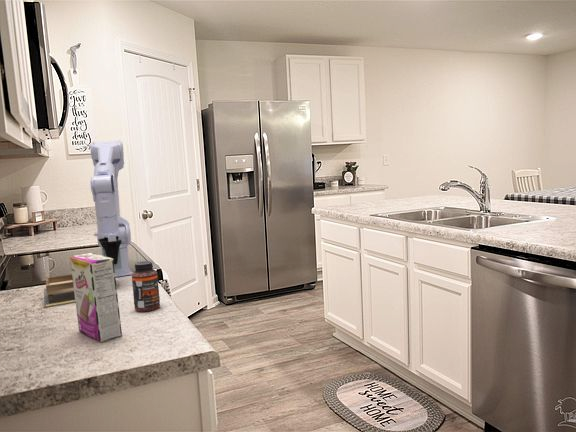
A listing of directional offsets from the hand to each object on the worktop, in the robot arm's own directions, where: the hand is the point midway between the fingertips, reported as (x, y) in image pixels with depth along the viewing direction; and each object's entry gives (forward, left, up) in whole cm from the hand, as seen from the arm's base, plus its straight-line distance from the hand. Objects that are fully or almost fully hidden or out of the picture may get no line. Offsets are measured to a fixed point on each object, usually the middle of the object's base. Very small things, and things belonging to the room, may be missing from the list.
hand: (112, 262), depth 140 cm
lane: (+1, -12, -7) cm, 14 cm away
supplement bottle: (+30, +4, -7) cm, 31 cm away
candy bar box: (+42, -8, -7) cm, 43 cm away
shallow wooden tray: (+5, -12, -7) cm, 15 cm away
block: (0, 0, -2) cm, 2 cm away
